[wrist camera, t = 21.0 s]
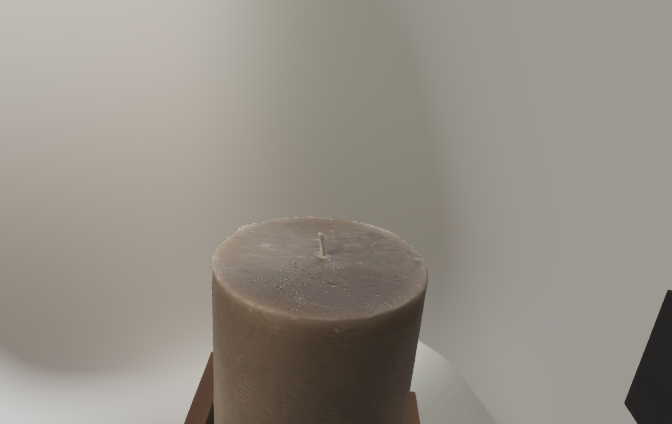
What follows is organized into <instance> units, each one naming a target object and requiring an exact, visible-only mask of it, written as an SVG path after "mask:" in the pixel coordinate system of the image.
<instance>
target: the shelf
mask: <svg viewBox="0 0 672 424" xmlns="http://www.w3.org/2000/svg"><path fill="white" fill-rule="evenodd" d="M213 392H214V377H213V352H212V353H211V355H210V358H209V360H208V363H207V365H206V368H205V371H204V373H203V376H202V378H201V381H200V384H199V386H198V389H197V392H196V394H195V397H194V399H193V402H192V404H191V407H190V410H189V412H188V415H187V417H186V420H185V423H184V424H214V400H213V399H214V395H213ZM404 424H420V420H419V413H418V407H417V401H416V394H415V392H409V398H408V405H407V411H406V416H405V423H404Z"/></svg>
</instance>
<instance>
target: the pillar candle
mask: <svg viewBox="0 0 672 424" xmlns="http://www.w3.org/2000/svg"><path fill="white" fill-rule="evenodd" d="M236 231H237V232H236V233H235V234H232V235H230V236H229V237H228V238H226V239H225V240H224V241H223V242H222V243H221V244H220V245H219V247H218V248H217V249H216V251H215V252H214V256H213V259H212V299H213V300H212V301H213V302H212V306H213V377H214V392H213V395H214V399H213V400H214V424H404V423H405V416H406V411H407V405H408V398H409V392H410V386H411V380H412V374H413V367H414V362H415V355H416V349H417V343H418V337H419V332H420V326H421V318H422V313H423V306H424V299H425V293H426V288H427V282H428V281H427V280H428V271H427V267H426V265H425V263H424V261H423V259H422V257H421V256H420V255H419V253H418V252H416V250H415V249H414V248H413V247H412V246H411V245H410V244H409V243H407V242H405V241H403V240H402V239H401V238H399V237H397V236H396V235H394V233H392V232H391V231H387V230H383V229H380V228H379V227H377V226H374V225H371V224H367V223H361V222H352V221H347V220H343V219H338V218H326V217H318V216H312V217H307V216H306V217H297V218H294V217H291V218H290V217H289V218H279V219H274V220H269V221H265V222H258V223H255V224H248V225H244V226H242V227H240V228H238V229H237V230H236Z"/></svg>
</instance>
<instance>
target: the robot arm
mask: <svg viewBox="0 0 672 424" xmlns="http://www.w3.org/2000/svg"><path fill="white" fill-rule="evenodd" d="M625 405H626V407H627V408H628V410H629V411H630V413H631V414H632V416H633V417H634V419H635V420H636V422H637V424H672V290H668V291H667V293H666V296H665V299H664V302H663V304H662V307H661V309H660V312H659V314H658V317H657V319H656V322H655V325H654V327H653V330H652V333H651V335H650V338H649V340H648V343H647V345H646V348H645V351H644V353H643V356H642V358H641V361H640V364H639V366H638V369H637V371H636V374H635V377H634V379H633V382H632V384H631V387H630V390H629V393H628V395H627V397H626V400H625Z"/></svg>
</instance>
